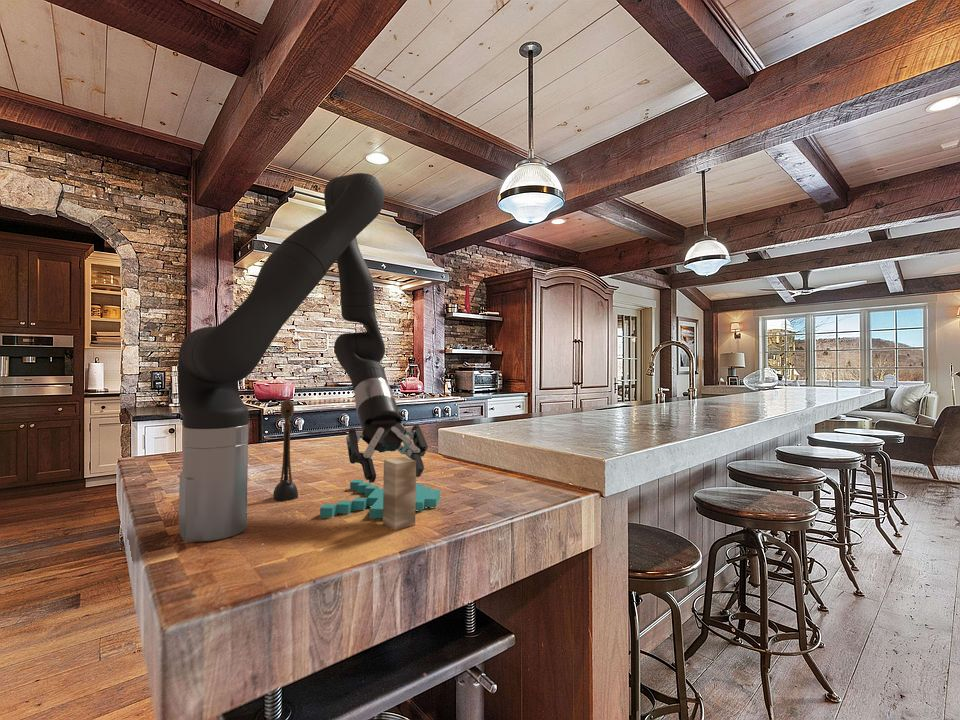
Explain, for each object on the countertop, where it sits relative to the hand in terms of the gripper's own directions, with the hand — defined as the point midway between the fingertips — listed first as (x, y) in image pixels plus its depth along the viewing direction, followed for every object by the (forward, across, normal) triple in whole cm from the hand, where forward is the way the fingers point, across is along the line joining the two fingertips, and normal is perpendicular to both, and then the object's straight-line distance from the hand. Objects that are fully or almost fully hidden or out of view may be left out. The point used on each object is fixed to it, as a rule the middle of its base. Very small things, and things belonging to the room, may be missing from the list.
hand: (396, 477), depth 81 cm
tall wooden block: (+6, 0, +5) cm, 8 cm away
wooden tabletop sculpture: (-11, -15, +22) cm, 29 cm away
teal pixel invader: (-2, +3, +14) cm, 15 cm away
